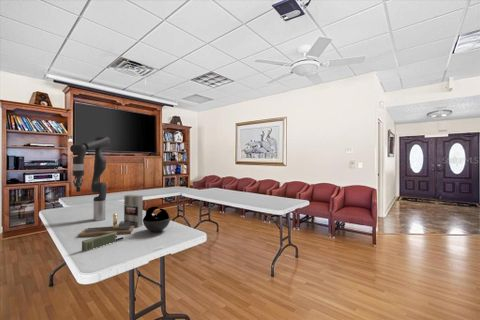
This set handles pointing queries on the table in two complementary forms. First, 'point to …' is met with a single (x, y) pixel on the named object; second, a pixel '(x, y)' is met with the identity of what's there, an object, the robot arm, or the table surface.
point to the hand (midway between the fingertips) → (78, 191)
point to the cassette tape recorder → (133, 209)
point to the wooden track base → (103, 231)
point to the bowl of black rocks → (156, 219)
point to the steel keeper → (124, 225)
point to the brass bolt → (115, 221)
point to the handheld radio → (99, 241)
